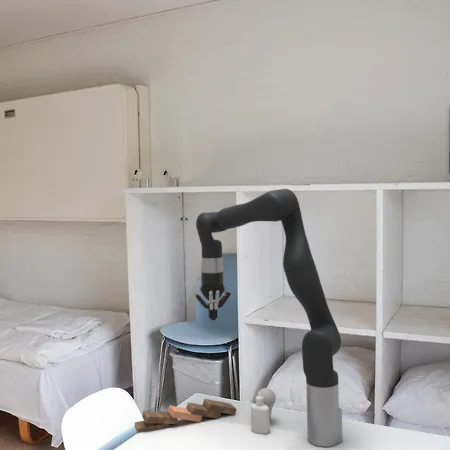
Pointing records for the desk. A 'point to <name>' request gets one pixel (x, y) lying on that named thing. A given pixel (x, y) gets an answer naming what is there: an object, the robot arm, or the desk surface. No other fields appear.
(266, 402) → the lightbulb
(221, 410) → the domino
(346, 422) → the desk surface
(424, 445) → the desk surface
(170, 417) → the domino
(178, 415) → the domino
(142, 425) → the domino
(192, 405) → the domino
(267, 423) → the eye dropper bottle
